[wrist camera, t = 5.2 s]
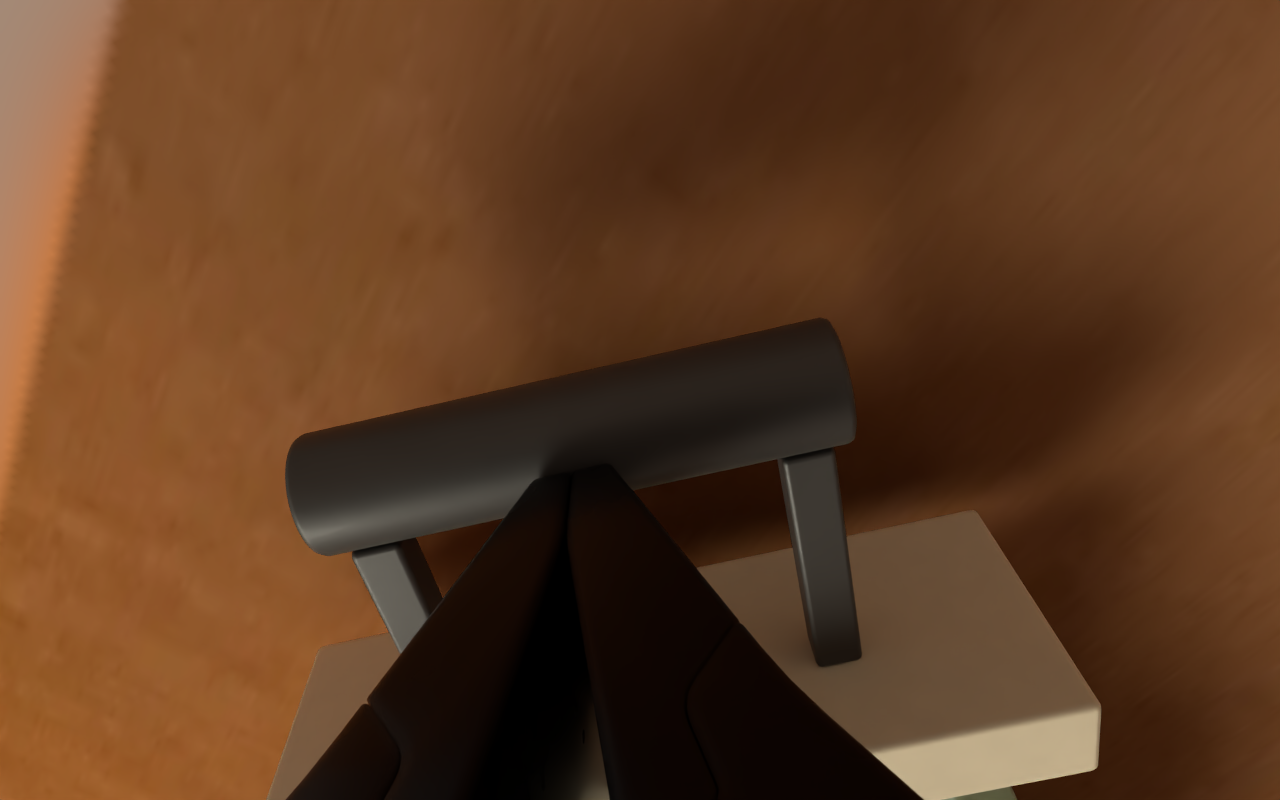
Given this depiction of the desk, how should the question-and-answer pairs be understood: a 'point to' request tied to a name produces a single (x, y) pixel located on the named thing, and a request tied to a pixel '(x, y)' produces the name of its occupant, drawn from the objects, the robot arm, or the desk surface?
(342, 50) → the desk surface
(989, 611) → the drawer
